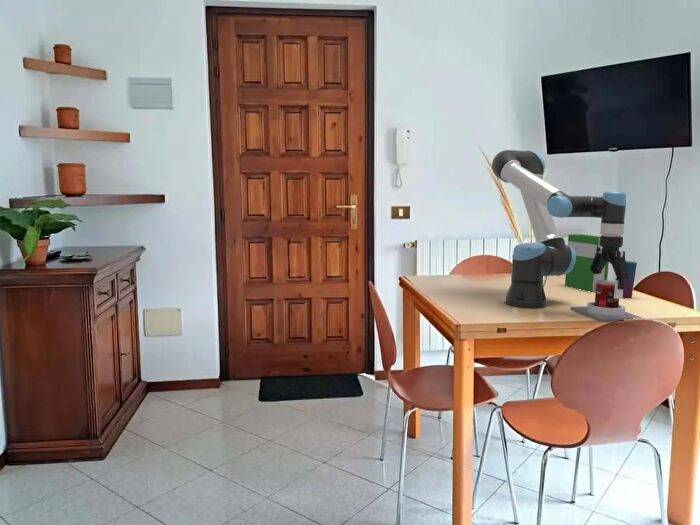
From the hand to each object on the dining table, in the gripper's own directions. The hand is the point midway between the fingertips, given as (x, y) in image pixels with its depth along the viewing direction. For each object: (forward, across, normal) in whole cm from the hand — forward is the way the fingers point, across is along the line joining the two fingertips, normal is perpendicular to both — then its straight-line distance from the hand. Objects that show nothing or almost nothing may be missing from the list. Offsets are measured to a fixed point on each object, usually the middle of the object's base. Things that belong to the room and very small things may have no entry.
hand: (606, 295), depth 214 cm
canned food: (+6, 0, 0) cm, 6 cm away
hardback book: (+7, +54, -23) cm, 59 cm away
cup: (+7, +33, -29) cm, 45 cm away
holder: (+7, 0, 0) cm, 7 cm away
